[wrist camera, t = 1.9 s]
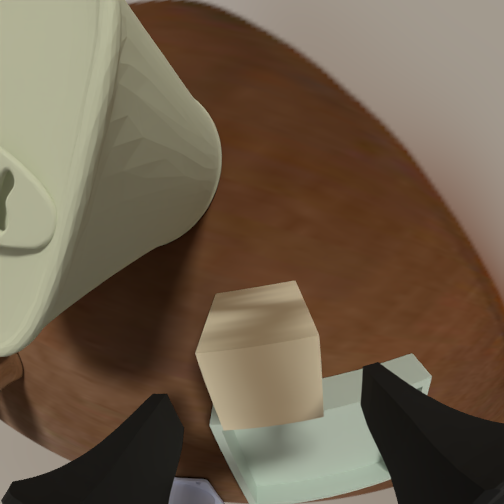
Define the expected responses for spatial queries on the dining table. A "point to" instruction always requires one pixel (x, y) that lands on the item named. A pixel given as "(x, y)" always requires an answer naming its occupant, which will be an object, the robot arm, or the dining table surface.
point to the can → (89, 155)
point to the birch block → (261, 358)
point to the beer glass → (10, 370)
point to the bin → (314, 445)
